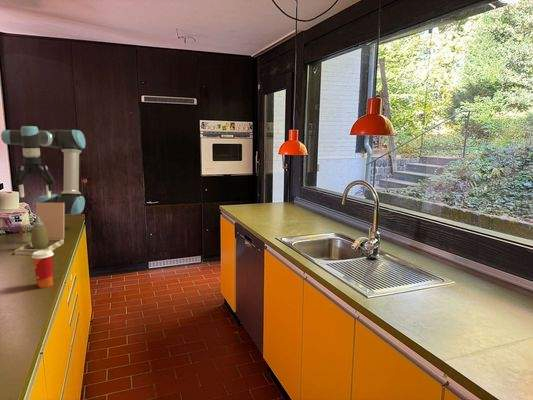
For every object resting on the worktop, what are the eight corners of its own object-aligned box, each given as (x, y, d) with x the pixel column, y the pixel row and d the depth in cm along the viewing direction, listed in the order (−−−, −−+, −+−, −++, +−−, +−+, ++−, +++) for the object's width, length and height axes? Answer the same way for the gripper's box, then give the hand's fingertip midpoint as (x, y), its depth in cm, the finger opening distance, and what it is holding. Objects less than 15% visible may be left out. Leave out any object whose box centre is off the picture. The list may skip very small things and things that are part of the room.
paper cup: (40, 281, 156) (37, 249, 153) (59, 281, 156) (56, 249, 154) (30, 289, 148) (27, 255, 146) (50, 288, 149) (47, 255, 146)
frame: (36, 243, 210) (35, 239, 209) (63, 243, 211) (63, 239, 210) (14, 254, 190) (14, 250, 190) (45, 254, 191) (44, 249, 191)
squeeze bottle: (41, 251, 196) (38, 218, 193) (28, 250, 197) (24, 217, 194) (52, 247, 203) (50, 215, 200) (40, 246, 205) (37, 214, 202)
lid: (35, 238, 209) (37, 238, 211) (63, 238, 210) (64, 238, 212) (36, 202, 209) (37, 202, 211) (63, 202, 210) (64, 202, 212)
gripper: (2, 156, 187) (6, 198, 191) (53, 157, 189) (56, 198, 193) (11, 155, 195) (15, 196, 198) (60, 156, 196) (63, 196, 200)
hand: (35, 197), depth 195 cm, fingers open, 13 cm apart
